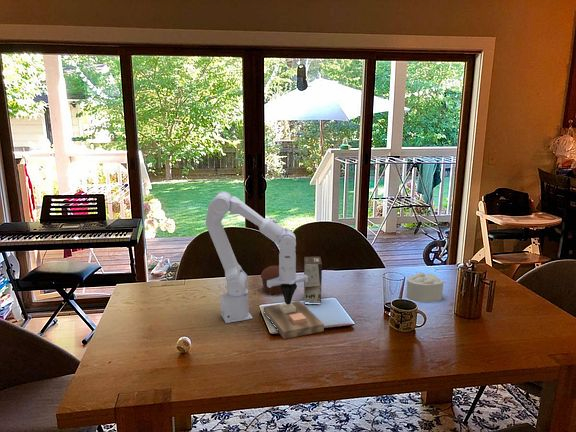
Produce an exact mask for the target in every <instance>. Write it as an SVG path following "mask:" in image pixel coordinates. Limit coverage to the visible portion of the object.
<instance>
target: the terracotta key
mask: <svg viewBox="0 0 576 432" xmlns="http://www.w3.org/2000/svg"><path fill="white" fill-rule="evenodd" d="M289 321H290V322H291V323H292V324H293V325H297V324H303V323H306V317H305V316H304V315H303V314H302V313H297V314H291V315H289Z"/></svg>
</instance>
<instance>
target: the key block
mask: <svg viewBox="0 0 576 432" xmlns="http://www.w3.org/2000/svg"><path fill="white" fill-rule="evenodd" d="M291 303H292V304H293V305H294V306H295V307H296V312H292V313H286V314H283V313H282V312H281V311H280V309H279V304H280V303H279V304H274V305H273V304H272V305H267V306H263V313H264V312H265V314H266V315H267V316H268V317H269V318H270V320H271V321H272V322H273V324H274V325H275V326H276V328H277V329H278V331H279V332H278V331H277V332H278V334H279V335H280V336H281V337H282V339H283V340H285V339H291V338H296V337H301V336H307V335H310V334H312V335H313V334H315V333H321V332H324V330H325V326H324V325H325V324H324V323H323V321H321V320H320V319H319V318H318V317H317V316H316V315H315V314H314V313H313V312H312V311H311V310H310V309H309V308H308V307H307V305H305V303H304V302H302V301H300V300H297V301H291ZM282 304H285V302H284V303H282ZM297 313H302V314H303V315H304V316H305V317H306V323H303V324H297V325H293V324H292V323H291V322H290V321H289V315H291V314H297ZM265 314H264V315H265ZM276 328H275V329H276Z"/></svg>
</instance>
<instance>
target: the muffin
mask: <svg viewBox="0 0 576 432" xmlns="http://www.w3.org/2000/svg"><path fill="white" fill-rule="evenodd" d="M278 277H279V265H270V266H267V267H266V268H264V269H263V270H262V272H261V274H260V278H261V281H262V286H263V291H264V292H265V294H267V295H271V296H275V295H276V296H278V295H283V293H282V291H281V289H280V287H279V285H277V286H272V287H270V288H269V287H268V286H267V280H271V279H274V278H278Z"/></svg>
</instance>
